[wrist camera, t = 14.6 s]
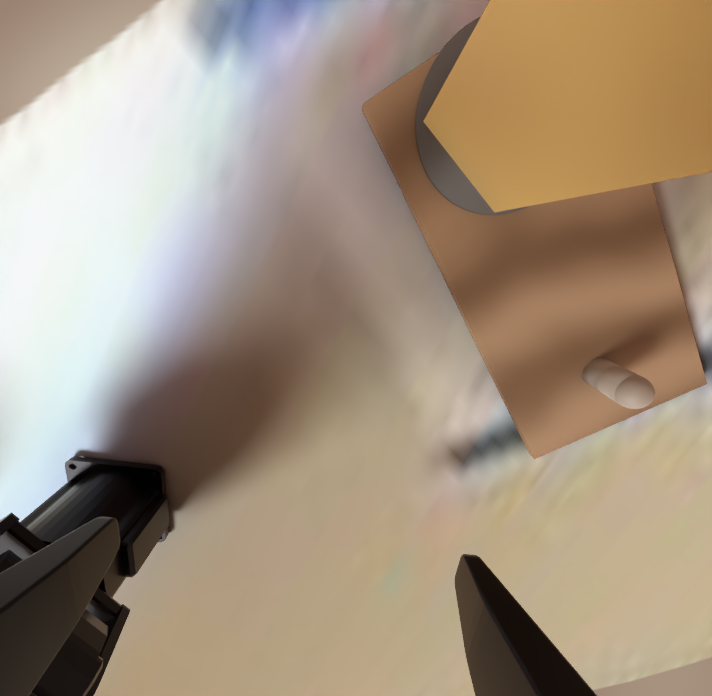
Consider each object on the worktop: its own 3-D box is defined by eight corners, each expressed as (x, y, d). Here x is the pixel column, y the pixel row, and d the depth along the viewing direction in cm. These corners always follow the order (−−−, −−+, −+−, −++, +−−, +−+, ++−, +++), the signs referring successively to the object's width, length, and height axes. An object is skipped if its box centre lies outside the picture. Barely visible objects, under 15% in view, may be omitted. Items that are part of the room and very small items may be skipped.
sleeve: (494, 212, 17) (839, 147, 5) (423, 121, 16) (641, -275, 4) (589, 124, 16) (1379, -264, 4) (520, 18, 15) (1360, -1123, 2)
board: (694, 378, 21) (777, 413, 17) (528, 451, 23) (565, 499, 19) (575, -39, 15) (658, -147, 11) (360, 106, 17) (360, 62, 13)
